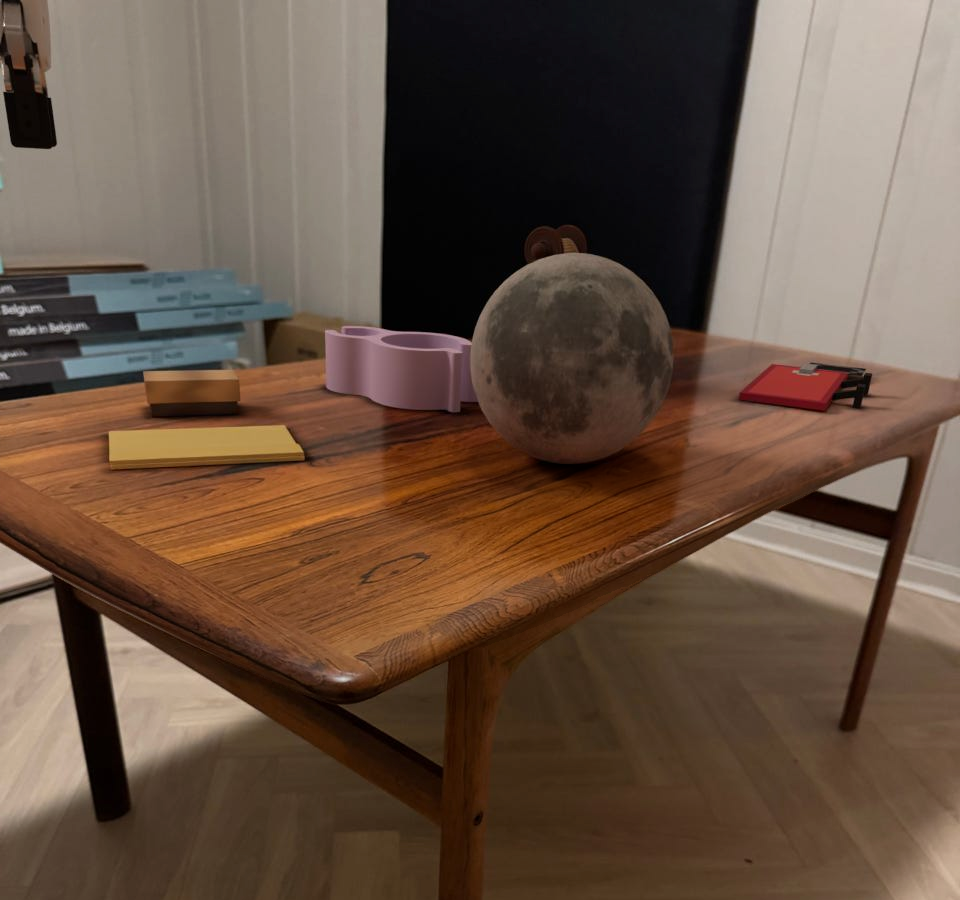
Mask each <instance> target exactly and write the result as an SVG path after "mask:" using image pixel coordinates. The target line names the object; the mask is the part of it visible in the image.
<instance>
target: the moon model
mask: <svg viewBox="0 0 960 900" xmlns="http://www.w3.org/2000/svg"><path fill="white" fill-rule="evenodd" d="M671 330H672V329H671V326H670V323H669V321H668V318H667V314H666V312H665V310H664V309H663V306H662V305H661V302H660V300H658V298H657V296H656V295H655V293H654V292H653V290H652V289H650V287H649V286H648V285H647V284H646V282H645V281H643V280H642V279H641V277H639V276H638V275H636V274H635V272H633V271H632V270H630V269H629V268H627V267H625V266H624V265H622V264H620V263H619V262H617V261H614V260H612V259H609V258H607V257H605V256H604V257H603V256H600V255H595V254H592V253H586V254H584V253H566V254H558V255H553V256H549V257H546V258H542V259H539V260H537V261H535V262H533V263H530V264H528V263H527V264H526V265H525V266H522V267H521V268H520V269H518V270H517V271H515V272H514V273H513V274H511V275H510V276H509V277H508V278H506V279H505V280H504V281H503V282H502V284H500V285H499V287H498V288H496V290H495V291H494V292H493V294H492V295H491V296H490V298H489V299H488V300H487V302H486V303H485V305H484V307H483V309H482V311H481V313H480V314H479V317H478V320H477V322H476V325H475V327H474V331H473V336H472V340H471V343H472V345H471V354H470V371H471V377H472V384H473V388H474V391H475V395H476V398H477V400H478V402H477V403H478V405H479V408H480V410H481V412H482V413H483V415H484V417H485V418H486V420H487V421H488V423H489V425H491V427H492V428H493V429H494V431H496V433H497V434H498V435H499V436H500V437H501V438H503V440H505V441H506V442H507V444H509V445H510V446H512V447H514V448H515V449H516V450H518V451H519V452H521V453H523V454H525V455H527V456H530V457H532V458H534V459H537V460H540V461H544V462H548V463H552V464H559V465H560V464H561V465H577V464H586V463H591V462H595V461H598V460H601V459H604V458H607V457H610V456H611V455H613V454H615V453H618V452H619V451H621V450H623V449H624V448H625V447H627V446H630V445H631V443H633V442H634V441H635V440H637V439H638V437H640V436H641V435H642V434H643V433H644V432H645V430H646V429H647V428H648V427H649V426H650V425H651V423H652V422H653V421H654V419H655V418H656V416H657V415H658V413H659V412H660V409H661V408H662V406H663V404H664V401H665V400H666V397H667V394H668V391H669V389H670V385H671V381H672V375H673V371H674V357H675V355H674V341H673V335H672V331H671Z"/></svg>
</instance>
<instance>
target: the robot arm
mask: <svg viewBox="0 0 960 900" xmlns="http://www.w3.org/2000/svg"><path fill="white" fill-rule="evenodd" d="M51 45H52V44H51V25H50V13H49V3H48V0H0V61H1V62H0V69H1V66H2V77H3V84H4V90H5V91H2V93H3V100H4V101H3V102H4V109H5V113H6V119H7V121H6V122H7V127H8V133H9V140H10V144H11V146H12V147H14V148H17V149H18V148H20V149H35V150H36V149H38V150H51V149H52V148H55V147H56V146H57V145H58V140H57V139H58V138H57V132H56V124H55V118H54V117H55V116H54V109H53V101H52V97H49V91H48V84H47V79H46V78H47V77H46V73H47V72H48V71H50V69H51V68H52V46H51Z"/></svg>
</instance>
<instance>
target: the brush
mask: <svg viewBox="0 0 960 900" xmlns="http://www.w3.org/2000/svg"><path fill="white" fill-rule="evenodd" d="M142 374H143V375H142V376H143V385H144V394H145V399H146V403H147V404H148V405H149V410H150V415H151V417H152V418H153V417H154V418H155V417H157V418H158V417H180V416H181V417H185V416H211V415H212V416H215V415H238V414H239V404H238V403H239V402H241V387H240V385H241V384H240V378H239V376H238V375H237V373H236V372H235V369H198V370H197V369H191V370H144V371H142Z"/></svg>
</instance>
